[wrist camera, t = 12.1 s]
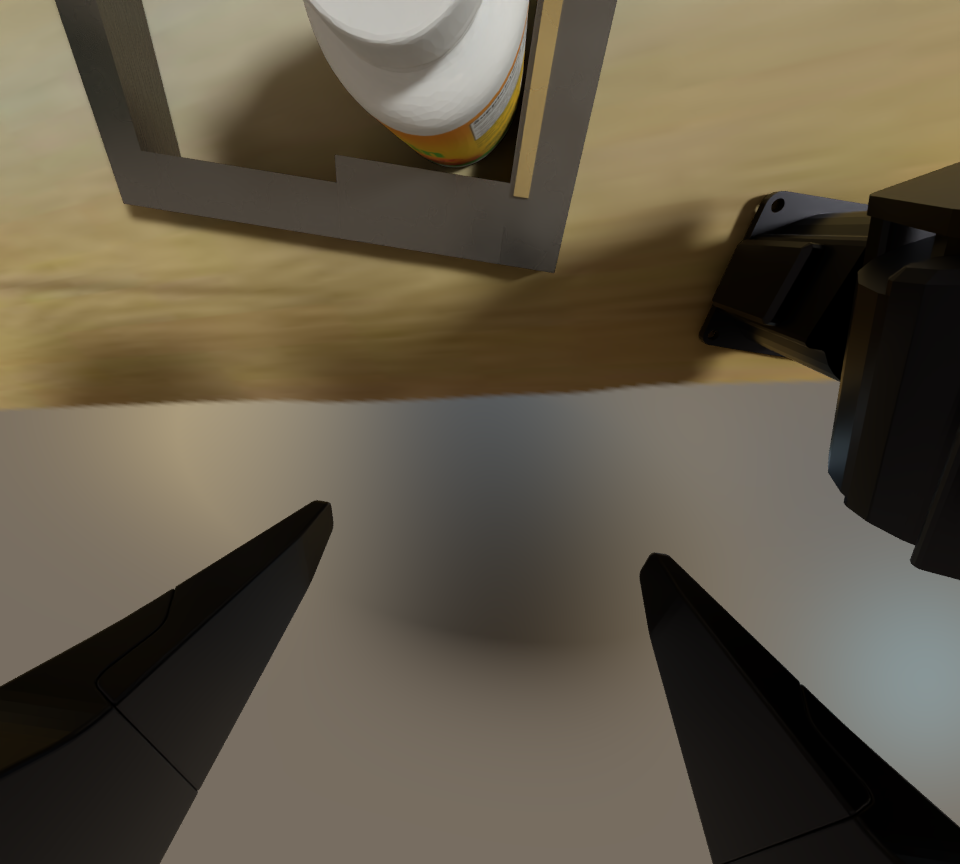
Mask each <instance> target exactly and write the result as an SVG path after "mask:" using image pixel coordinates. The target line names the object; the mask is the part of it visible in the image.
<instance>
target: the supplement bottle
mask: <svg viewBox="0 0 960 864" xmlns="http://www.w3.org/2000/svg"><path fill="white" fill-rule="evenodd" d="M303 1H304V5H305V8H306V11H307V15H308V18H309V21H310V23H311V26H312V29H313V31H314V34H315V36H316V39H317V41H318V43H319V45H320V48H321V50H322V52H323V54H324V56H325V58H326V60H327V61H328V63H329V65H330V66H331V68H332V70H333V72H334V73H335V74H336V76H337V77H338V79H339V80H340V82H341V83H342V84H343V86H344V87H345V88H346V90H347V91H348V92H349V93H350V94H351V95H352V96H353V98H354V99H355V100H356V101H357V102H358V103H359V104H360V105H361V106H362V107H363V108H364V109H365V110H366V111H367V112H368V113H369V114H370V115H371V116H373V117H374V118H375V119H377V120H378V121H379V122H380V123H382V124H383V125H384V126H385V127H386V128H388V129H389V130H390V131H391V132H393V133H394V134H395V135H396V136H397V137H398V138H400V139H401V140H402V141H404V142H405V143H406V144H408V145H409V146H410V147H411V148H412V149H414V150H415V151H416V152H417V153H419V154H420V155H421V156H423V157H424V158H426V159H427V160H429V161H431V162H433V163H436V164H438V165H442V166H446V167H464V166H468V165H471V164H473V163H476V162H478V161H480V160H481V159H483V158H484V157H486V156H487V155H488V154H489V153H491V152H492V151H493V150H494V149H495V148H496V147H497V145H498V144H499V143H500V141H501V140H502V139H503V137H504V136H505V134H506V133H507V131H508V129H509V127H510V125H511V123H512V121H513V118H514V116H515V113H516V110H517V106H518V102H519V97H520V92H521V85H522V77H523V66H524V54H525V42H526V31H527V20H528V9H529V0H303Z"/></svg>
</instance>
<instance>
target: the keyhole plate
mask: <svg viewBox="0 0 960 864" xmlns="http://www.w3.org/2000/svg"><path fill="white" fill-rule="evenodd" d="M55 2H56V5H57V8H58V11H59V14H60V17H61V20H62V23H63V26H64V29H65V32H66V35H67V37H68V40H69V43H70V46H71V49H72V52H73V55H74V58H75V61H76V64H77V67H78V70H79V73H80V76H81V79H82V82H83V85H84V88H85V91H86V94H87V96H88V99H89V102H90V105H91V108H92V111H93V114H94V117H95V120H96V123H97V126H98V129H99V132H100V135H101V138H102V141H103V144H104V147H105V150H106V152H107V155H108V158H109V161H110V164H111V167H112V170H113V173H114V176H115V179H116V182H117V185H118V188H119V191H120V194H121V197H122V200H123V203H124V204H130V205H136V206H142V207H148V208H154V209H161V210H167V211H173V212H179V213H185V214H192V215H198V216H204V217H210V218H216V219H223V220H229V221H235V222H241V223H247V224H254V225H260V226H266V227H272V228H278V229H285V230H291V231H297V232H303V233H309V234H316V235H322V236H328V237H334V238H340V239H347V240H353V241H359V242H365V243H371V244H378V245H384V246H390V247H396V248H402V249H409V250H415V251H421V252H427V253H433V254H440V255H446V256H452V257H458V258H464V259H471V260H477V261H483V262H489V263H495V264H502V265H508V266H514V267H520V268H526V269H533V270H539V271H545V272H551V273H554V272H555V268H556V263H557V259H558V255H559V250H560V246H561V242H562V237H563V233H564V229H565V224H566V220H567V216H568V211H569V207H570V203H571V198H572V194H573V190H574V185H575V181H576V177H577V172H578V168H579V164H580V159H581V155H582V151H583V146H584V142H585V137H586V133H587V129H588V124H589V120H590V116H591V111H592V107H593V103H594V98H595V94H596V90H597V85H598V81H599V77H600V72H601V68H602V64H603V59H604V55H605V51H606V46H607V42H608V38H609V33H610V29H611V25H612V20H613V16H614V11H615V7H616V3H617V0H538V2H537V8H536V15H535V22H534V28H533V35H532V42H531V48H530V55H529V62H528V68H527V75H526V82H525V88H524V95H523V102H522V109H521V115H520V122H519V129H518V135H517V142H516V149H515V155H514V162H513V169H512V175H511V182H510V183H506V182H500V181H493V180H487V179H481V178H475V177H469V176H463V175H457V174H451V173H444V172H438V171H432V170H426V169H420V168H414V167H408V166H402V165H396V164H389V163H383V162H377V161H371V160H365V159H359V158H353V157H347V156H341V155H335V166H336V181H337V183H336V182H330V181H324V180H318V179H312V178H306V177H299V176H293V175H287V174H281V173H275V172H269V171H263V170H256V169H250V168H244V167H238V166H232V165H226V164H220V163H213V162H207V161H201V160H195V159H189V158H183V157H181V156H180V152H179V148H178V144H177V140H176V136H175V132H174V128H173V124H172V120H171V116H170V112H169V108H168V104H167V100H166V96H165V92H164V88H163V84H162V80H161V76H160V72H159V68H158V64H157V60H156V56H155V52H154V48H153V44H152V40H151V36H150V32H149V28H148V24H147V20H146V16H145V12H144V8H143V4H142V0H55Z"/></svg>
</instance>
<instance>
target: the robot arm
mask: <svg viewBox="0 0 960 864" xmlns="http://www.w3.org/2000/svg"><path fill="white" fill-rule="evenodd" d="M775 200H778V207H777V208H776V210H775V211H773V212H772V210H771V206H772V204H773V202H774V201H775ZM712 301H713V305H712V307H711V309H710V311H709V314H708V316H707V318H706V320H705V322H704V324H703V326H702V328H701V331H700V333H699V338H700V340H701V341H702V342H704V343H705V344H708V345H713V346H719V347H725V348H731V349H738V350H744V351H750V352H756V353H763V354H769V355H775V356H781V357H787V358H789V359H792V360H794V361H796V362H798V363H800V364H802V365H805V366H807V367H809V368H811V369H813V370H815V371H817V372H820V373H822V374H824V375H826V376H828V377H830V378H833V379H835V380H837V381H839V382H840V386H839V393H838V399H837V405H836V412H835V418H834V425H833V431H832V437H831V443H830V450H829V461H828V473H829V475H830V476H831V478H832V479H833V481H834V482H835V484H836V486H837V487H838V489H839V490H840V492H841V493H842V494H843V495H844V496H845V498H844V504H845V505H846V506H847V507H848V508H849V509H851V510H852V511H853V512H855V513H856V514H857V515H859V516H860V517H861V518H863V519H864V520H865V521H867V522H869V523H871V524H872V525H874V526H876V527H878V528H880V529H882V530H884V531H886V532H888V533H889V534H891V535H893V536H895V537H897V538H899V539H901V540H903V541H906V542H908V543H910V544H913V545H915V548H914V551H913V553H912V556H911V559H910V562H911V564H912V565H914V566H915V567H917V568H918V569H921V570H924V571H928V572H932V573H936V574H939V575H943V576H947V577H951V578H954V579H959V580H960V162H958V163H956V164H953V165H950V166H947V167H944V168H942V169H939V170H936V171H933V172H930V173H928V174H925V175H922V176H919V177H916V178H913V179H911V180H908V181H905V182H902V183H899V184H897V185H894V186H891V187H888V188H885V189H883V190H880V191H877V192H874V193H872V194H870V196H869V203H868V205H867V204H860V203H854V202H848V201H842V200H836V199H830V198H824V197H818V196H812V195H806V194H800V193H794V192H787V191H780V192H773V193H771V194H769V195H768V196H766V197H765V198H764V199H763V201H762V202H761V204H760V206H759V208H758V210H757V212H756V214H755V216H754V218H753V221H752V223H751V225H750V227H749V229H748V231H747V233H746V235H745V237H744V240H743V241H742V242H741V243H740V244H739V245H738V246H737V248H736V250H735V252H734V254H733V256H732V259H731V261H730V263H729V265H728V267H727V269H726V271H725V273H724V276H723V278H722V280H721V282H720V284H719V286H718V288H717V291H716V293H715V295H714V297H713V299H712ZM713 330H715V334H714V335H713V336H712V337H710V338H708V334H709V333H710V332H711V331H713ZM332 529H333V516H332V508H331V504H330V503H329V502H324V501H318V500H317V501H313V502H311V503H310V504H308V505H306V506H304V507H303V508H301V509H300V510H298V511H296V512H295V513H293V514H292V515H290V516H288V517H287V518H285V519H284V520H282V521H281V522H279V523H277V524H276V525H274V526H272V527H271V528H270V529H268V530H266V531H264V532H263V533H261V534H260V535H258V536H256V537H255V538H253V539H252V540H250V541H248V542H247V543H245V544H244V545H242V546H240V547H239V548H237V549H235V550H234V551H232V552H231V553H229V554H227V555H226V556H224V557H223V558H221V559H219V560H218V561H216V562H215V563H213V564H211V565H210V566H208V567H207V568H205V569H203V570H202V571H200V572H199V573H197V574H195V575H194V576H192V577H191V578H189V579H187V580H186V581H184V582H183V583H181V584H180V585H178V586H176V588H175V590H174V589H171V590H170V591H168V592H166V593H165V594H163V595H161V596H160V597H158V598H157V599H155V600H153V601H152V602H150V603H149V604H147V605H145V606H143V607H142V608H140V609H138V610H137V611H135V612H133V613H132V614H130V615H128V616H127V617H125V618H124V619H122V620H120V621H118V622H116V623H115V624H113V625H111V626H109V627H108V628H106V629H104V630H102V631H100V632H99V633H97V634H95V635H93V636H92V637H90V638H88V639H87V640H84V641H83V642H81V643H79V644H77V645H75V646H73V647H72V648H70V649H68V650H66V651H64V652H63V653H61V654H59V655H57V656H55V657H53V658H52V659H50V660H48V661H46V662H44V663H42V664H40V665H39V666H37V667H35V668H33V669H31V670H30V671H28V672H26V673H24V674H22V675H20V676H18V677H17V678H15V679H13V680H11V681H9V682H7V683H6V684H4V685H2V686H0V864H160V862H161V860H162V858H163V856H164V855H165V853H166V851H167V849H168V847H169V845H170V844H171V842H172V840H173V838H174V836H175V834H176V832H177V831H178V829H179V827H180V825H181V823H182V821H183V819H184V817H185V816H186V814H187V812H188V810H189V808H190V807H191V805H192V803H193V801H194V799H195V797H196V795H197V793H198V791H197V790H199V789H200V787H201V786H202V784H203V782H204V780H205V778H206V776H207V774H208V773H209V771H210V769H211V767H212V765H213V763H214V762H215V759H216V758H217V756H218V754H219V752H220V750H221V749H222V747H223V745H224V743H225V741H226V739H227V738H228V736H229V734H230V732H231V730H232V728H233V726H234V725H235V723H236V721H237V719H238V717H239V715H240V713H241V712H242V710H243V708H244V706H245V704H246V702H247V700H248V699H249V697H250V695H251V693H252V691H253V689H254V687H255V686H256V684H257V682H258V680H259V678H260V676H261V675H262V673H263V671H264V669H265V667H266V665H267V663H268V662H269V660H270V658H271V656H272V654H273V652H274V650H275V649H276V647H277V645H278V643H279V641H280V639H281V637H282V636H283V634H284V632H285V630H286V628H287V626H288V624H289V623H290V621H291V619H292V617H293V615H294V613H295V612H296V610H297V608H298V606H299V604H300V602H301V600H302V599H303V597H304V595H305V593H306V591H307V589H308V587H309V585H310V583H311V581H312V579H313V576H314V574H315V572H316V569H317V566H318V564H319V562H320V559H321V557H322V554H323V552H324V549H325V547H326V545H327V542H328V540H329V537H330V535H331V532H332ZM640 584H641V590H642V596H643V602H644V607H645V613H646V619H647V625H648V630H649V635H650V639H651V643H652V646H653V650H654V654H655V657H656V661H657V664H658V668H659V672H660V675H661V679H662V682H663V686H664V690H665V693H666V697H667V700H668V704H669V708H670V711H671V715H672V718H673V722H674V726H675V729H676V733H677V736H678V740H679V744H680V747H681V751H682V754H683V758H684V762H685V765H686V769H687V773H688V776H689V780H690V783H691V787H692V790H693V794H694V798H695V801H696V805H697V808H698V812H699V816H700V819H701V823H702V826H703V830H704V834H705V837H706V841H707V845H708V848H709V852H710V855H711V859H712V863H713V864H960V827H959V826H958V825H957V824H956V823H955V822H953V821H952V820H951V819H950V818H949V817H948V816H947V815H945V814H944V813H943V812H942V811H941V810H940V809H939V808H938V807H936V806H935V805H934V804H933V803H932V802H931V801H930V800H928V799H927V798H926V797H925V796H924V795H923V794H922V793H920V792H919V791H918V790H917V789H916V788H915V787H914V786H913V785H912V784H910V783H909V782H908V781H907V780H906V779H905V778H903V777H902V776H901V775H900V774H899V773H898V772H897V771H896V770H895V769H893V768H892V767H891V766H890V765H889V764H888V763H887V762H885V761H884V760H883V759H882V758H881V757H880V756H879V755H878V754H877V753H875V752H874V751H873V750H872V749H871V748H870V747H869V746H867V744H865V743H864V742H863V741H862V740H861V739H860V738H859V737H858V736H856V735H855V734H854V733H853V732H852V731H851V730H850V729H849V728H848V727H847V726H845V724H843V723H842V722H841V721H840V720H839V719H838V718H837V717H836V716H835V715H834V714H833V713H832V712H831V711H830V710H829V709H827V708H826V707H825V706H824V705H823V704H822V703H821V702H820V701H819V700H818V699H817V698H816V697H815V696H814V695H813V694H812V693H811V692H810V691H809V690H808V689H807V688H806V687H805V686H804V685H801V684H800V682H799V681H798V680H797V679H796V678H795V677H794V676H793V675H792V674H791V673H790V672H789V671H788V670H787V669H786V668H785V667H784V666H783V665H782V664H781V663H780V662H779V661H777V659H776V658H774V656H772V655H771V654H770V653H769V652H768V651H767V650H766V649H765V648H764V647H763V646H762V645H761V644H760V643H759V642H758V641H757V640H756V639H755V638H754V637H753V636H752V635H751V634H750V633H749V632H748V631H747V630H745V628H743V627H742V626H741V625H740V624H739V623H738V622H737V621H736V620H735V619H734V618H733V617H732V616H731V615H730V614H729V613H728V612H727V611H726V610H725V609H724V608H723V607H722V606H721V605H720V604H719V603H718V602H717V601H716V600H714V598H712V597H711V596H710V595H709V594H708V593H707V592H706V591H705V590H704V589H703V588H702V587H701V586H700V585H699V584H698V583H697V582H696V581H695V580H694V579H693V578H692V577H691V576H690V575H689V574H688V573H687V572H686V571H685V570H684V569H682V568H681V567H680V566H679V565H678V564H677V563H676V562H675V561H674V560H673V559H672V558H671V557H670V556H669V555H666V554H661V553H652V554H650V555H649V557H648V559H647V560H646V562H645V564H644V566H643V567H642V569H641V571H640Z"/></svg>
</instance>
